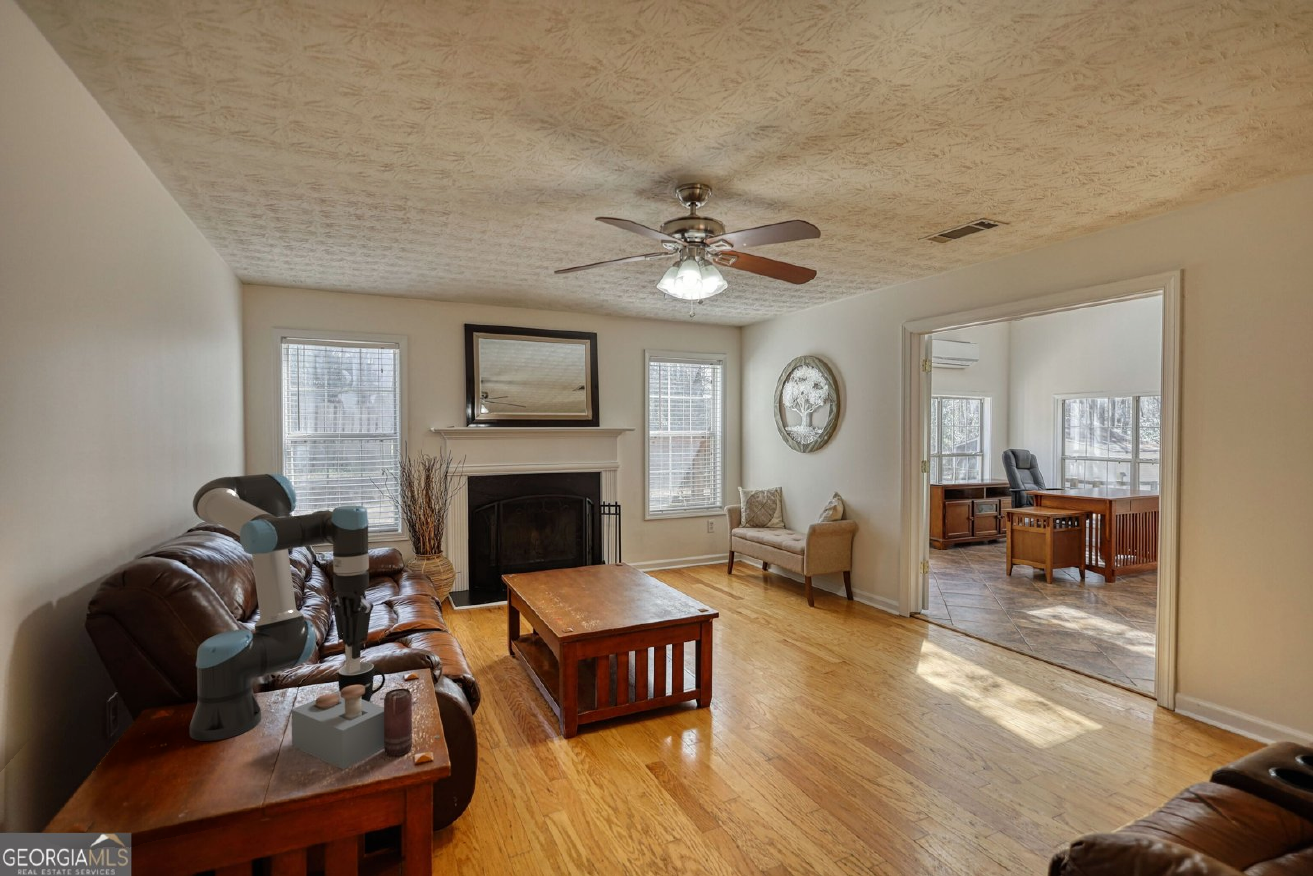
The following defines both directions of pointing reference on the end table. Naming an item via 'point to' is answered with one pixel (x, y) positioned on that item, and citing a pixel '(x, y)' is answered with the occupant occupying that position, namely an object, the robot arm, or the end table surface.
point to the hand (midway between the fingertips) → (353, 670)
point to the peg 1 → (327, 701)
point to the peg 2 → (353, 701)
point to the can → (397, 722)
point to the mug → (360, 679)
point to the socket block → (338, 732)
